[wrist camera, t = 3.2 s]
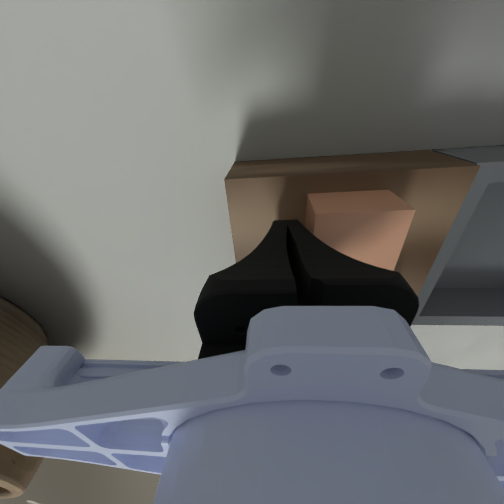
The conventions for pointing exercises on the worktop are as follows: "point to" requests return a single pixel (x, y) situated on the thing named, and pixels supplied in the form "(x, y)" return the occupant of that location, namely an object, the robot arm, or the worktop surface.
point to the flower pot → (3, 368)
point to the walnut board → (345, 180)
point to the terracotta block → (361, 224)
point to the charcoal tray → (470, 251)
